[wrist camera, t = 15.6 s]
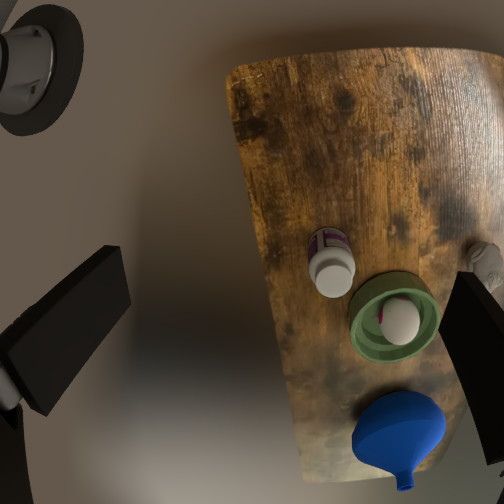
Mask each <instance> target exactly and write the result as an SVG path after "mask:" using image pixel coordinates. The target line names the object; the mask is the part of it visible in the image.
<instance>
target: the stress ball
mask: <svg viewBox="0 0 504 504" xmlns="http://www.w3.org/2000/svg"><path fill="white" fill-rule="evenodd" d="M378 316H379V326H380V330H381V332H382V334H383V336H384V337H385V338H386V339H387V340H388V341H389V342H391V343H393V344H395V345H404V344H407V343H409V342H410V341H412V340H413V339H414V337H415V336H416V334H417V332H418V330H419V325H420V318H419V313H418V310H417V308H416V306H415V305H414V304H413V303H412V302H411V301H410V300H409V299H407V298H405V297H393V298H391V299H389V300H388V301H386V302H385V303H384V305H383V306H382V308H381V311H380V314H379V315H378ZM378 316H375V317H378ZM372 318H373V317H372Z"/></svg>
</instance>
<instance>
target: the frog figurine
mask: <svg viewBox="0 0 504 504" xmlns="http://www.w3.org/2000/svg"><path fill="white" fill-rule="evenodd" d="M501 256H502V254H501V252H500V249H499V247H498V246H496V245H495V244H494V243H492V244H489V243H487V242H478V243H475V244H474V245H473V246H472V247H471V248H470V249H469V251H468V254H467V260H466V261H467V263H466V265H467V272H474V274H475V275H476V276H477V277H478V279H479V280H480V281H481V282H482V284H483V285H484V286H485V287H486V289H487V290H488V291H489V292H490V293H491V292H492V291H493V290H494V289H495V287H498V286H500V285H501V284H502V282H503V277H502V276H503V267H504V263H503V259H502V257H501Z"/></svg>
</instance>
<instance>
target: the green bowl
mask: <svg viewBox="0 0 504 504" xmlns="http://www.w3.org/2000/svg"><path fill="white" fill-rule="evenodd" d="M393 297H405V298H407V299H409V300H410V301H411V302H412V303H413V304H414V305H415V306H416V308H417V310H418V313H419V318H420V325H419V330H418V332H417V334H416V336H415V337H414V339H413V340H412V341H410V342H409V343H407V344H404V345H395V344H393V343H391V342H389V341H388V340H387V339H386V338H385V337H384V336H383V334H382V332H381V330H380V326H379V316H378V315H379V314H380V311H381V308H382V306H383V305H384V303H385V302H386V301H388V300H389V299H391V298H393ZM347 316H348V322H349V330H350V336H351V342H352V345H353V347H354V348H355V350H356V351H357V353H358V354H359V355H361V356H362V357H364V358H365V359H367V360H369V361H373V362H376V363H395V362H399V361H403V360H406V359H408V358H410V357H412V356H414V355H416V354H418V353H419V352H420V351H421V350H423V349H424V348H425V347H426V346H428V344H429V343H430V342H431V340H432V339H433V338H434V336H435V335H436V332H437V330H438V327H439V325H440V310H439V307H438V305H437V302H436V300H435V298H434V297H433V295H432V293H431V291H430V289H429V288H428V286H427V285H426V284H425V283H424V282H423V281H422V280H421V279H420V278H419V277H417V276H415V275H413V274H410V273H408V272H390V273H386V274H381V275H379V276H377V277H375V278H373V279H371V280H369V281H368V282H366V283H365V284H364V285H363V286H362V287H361V288H360V289H359V290H358V291H357V292H356V293H355V295H354V297H353V299H352V300H351V302H350V304H349V309H348V314H347ZM375 316H378V317H375ZM372 317H373V318H372Z"/></svg>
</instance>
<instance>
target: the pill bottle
mask: <svg viewBox="0 0 504 504" xmlns="http://www.w3.org/2000/svg"><path fill="white" fill-rule="evenodd" d="M308 263H309V275H310V277H311V279H312V281H313V282H314V283H315V284H316V287H317V289H318V291H319V292H320V293H321V294H322V295H324V296H326V297H330V298H336V297H340V296H342V295H344V294H346V293H347V292H348V291H349V289H350V288H351V286H352V278H353V276H354V273H355V262H354V259H353V256H352V252H351V249H350V246H349V243H348V240H347V238H346V236H345V235H344V234H343V233H342V232H341V231H340V230H338V229H335V228H322V229H320V230H318V231H316V232H315V233H314V234H313V235H312V237H311V238H310V241H309V245H308Z"/></svg>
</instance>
